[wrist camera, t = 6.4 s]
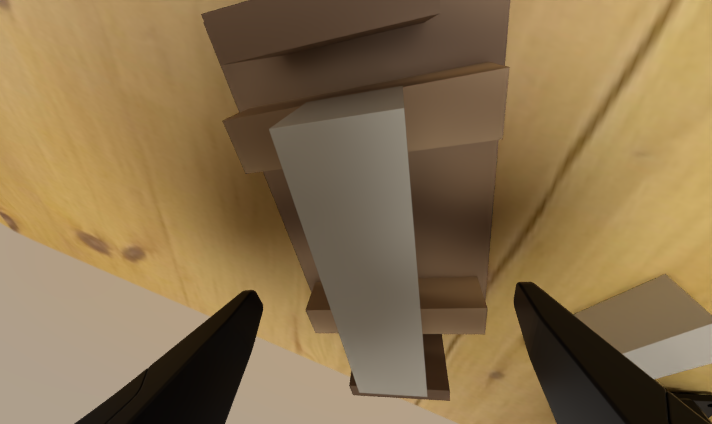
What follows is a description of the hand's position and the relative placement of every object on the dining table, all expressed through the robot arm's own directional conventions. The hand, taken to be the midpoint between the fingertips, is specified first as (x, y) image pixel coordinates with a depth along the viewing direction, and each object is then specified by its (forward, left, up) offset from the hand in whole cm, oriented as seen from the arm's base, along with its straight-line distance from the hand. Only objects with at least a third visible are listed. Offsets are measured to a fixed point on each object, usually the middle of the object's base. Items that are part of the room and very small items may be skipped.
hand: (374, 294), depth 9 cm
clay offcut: (-9, -12, -3) cm, 15 cm away
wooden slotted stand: (0, 0, -6) cm, 6 cm away
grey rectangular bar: (0, 0, -2) cm, 3 cm away
